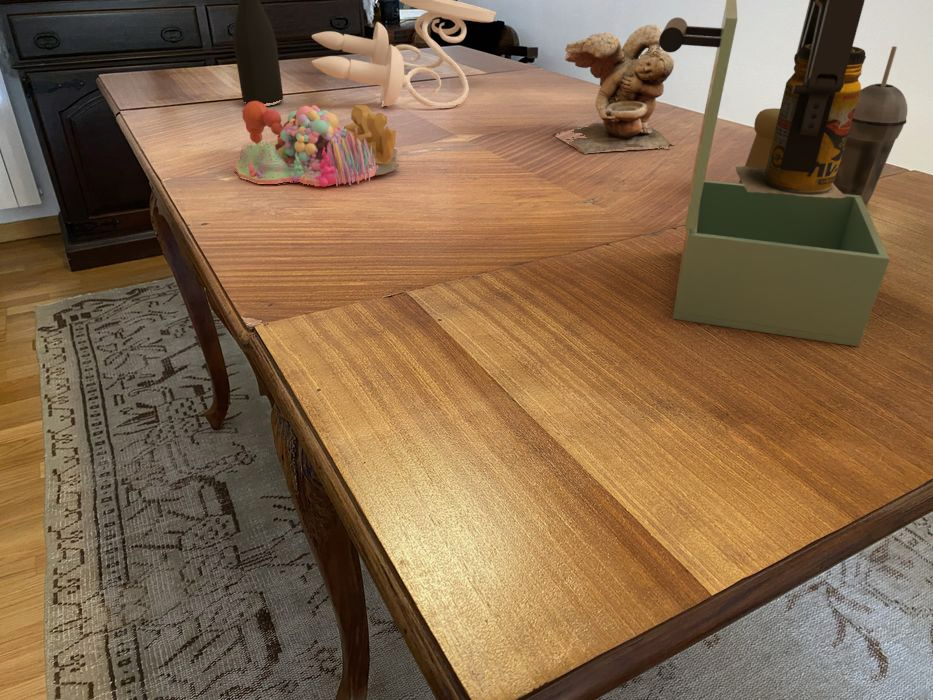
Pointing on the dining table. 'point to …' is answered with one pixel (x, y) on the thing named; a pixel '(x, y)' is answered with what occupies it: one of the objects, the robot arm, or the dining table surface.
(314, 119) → the pastel sphere sculpture
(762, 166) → the brown knobbed peg
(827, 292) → the bin
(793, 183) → the condiment
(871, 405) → the dining table surface
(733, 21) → the bin lid
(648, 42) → the cherub figurine
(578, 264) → the dining table surface
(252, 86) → the wine bottle
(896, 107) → the beverage cup
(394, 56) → the candelabra
